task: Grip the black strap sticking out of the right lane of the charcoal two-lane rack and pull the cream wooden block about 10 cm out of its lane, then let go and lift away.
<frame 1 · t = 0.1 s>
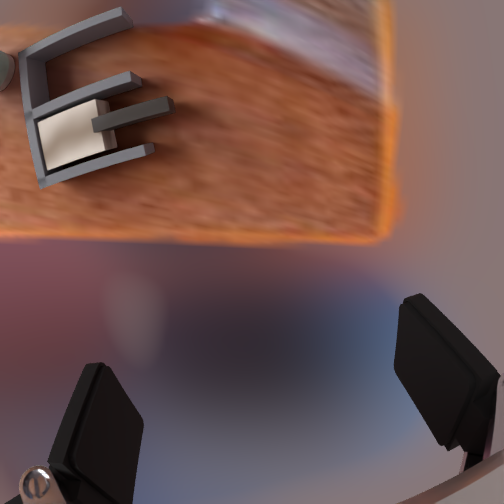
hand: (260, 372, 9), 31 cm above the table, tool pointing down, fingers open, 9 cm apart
cream block: (105, 124, 31), point 3 cm above the table, slide at 0.0 cm
lane rack: (89, 99, 32), on the table
coffee cup: (1, 73, 28), on the table
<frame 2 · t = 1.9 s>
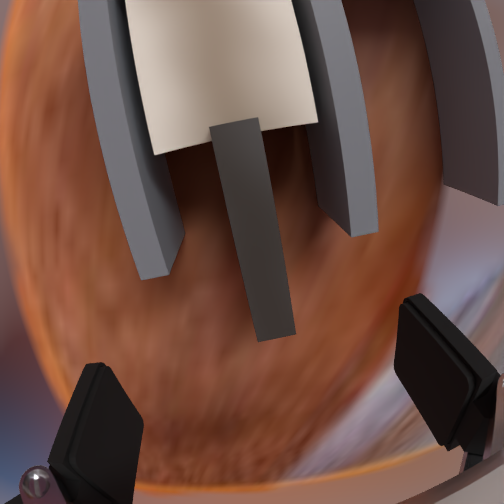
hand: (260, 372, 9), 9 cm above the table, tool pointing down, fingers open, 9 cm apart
cream block: (235, 135, 12), point 3 cm above the table, slide at 0.0 cm
lane rack: (307, 74, 14), on the table
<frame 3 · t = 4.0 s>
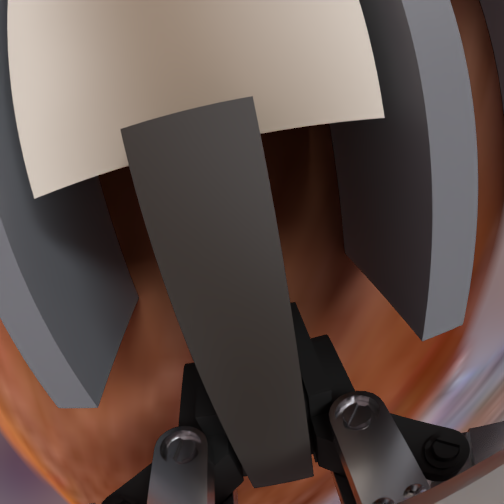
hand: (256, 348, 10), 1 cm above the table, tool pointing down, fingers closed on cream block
cream block: (204, 142, 6), point 3 cm above the table, slide at 0.0 cm, touching gripper
lane rack: (331, 40, 8), on the table
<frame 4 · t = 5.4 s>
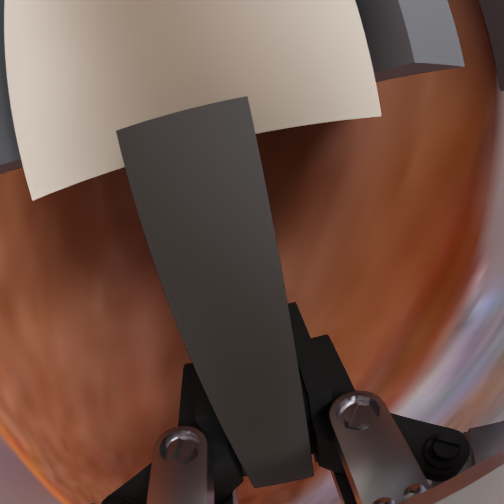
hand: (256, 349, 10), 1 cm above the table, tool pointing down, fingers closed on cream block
cream block: (201, 142, 6), point 3 cm above the table, slide at 5.4 cm, touching gripper
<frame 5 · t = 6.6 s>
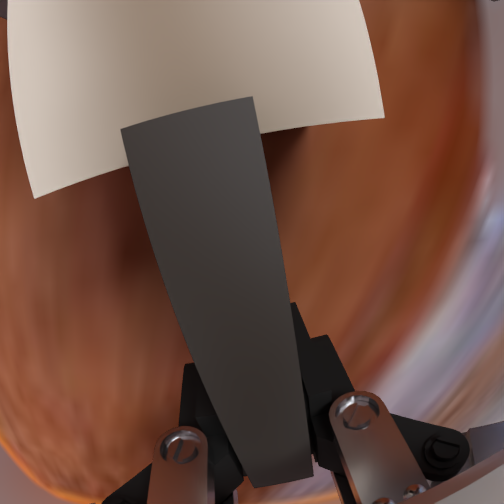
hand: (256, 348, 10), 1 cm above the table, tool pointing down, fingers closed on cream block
cream block: (204, 142, 6), point 3 cm above the table, slide at 10.0 cm, touching gripper
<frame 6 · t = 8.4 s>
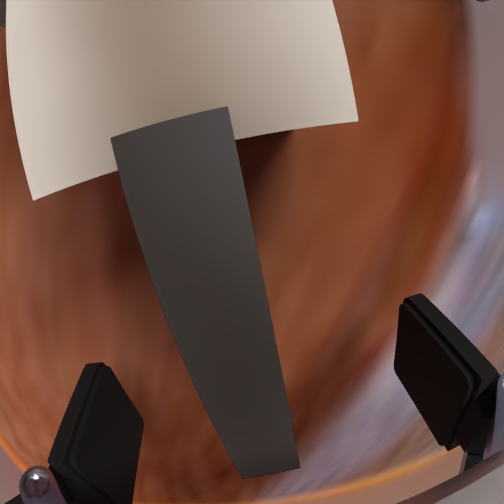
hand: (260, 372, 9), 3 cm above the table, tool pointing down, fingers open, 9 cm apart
cream block: (191, 146, 6), point 3 cm above the table, slide at 10.0 cm
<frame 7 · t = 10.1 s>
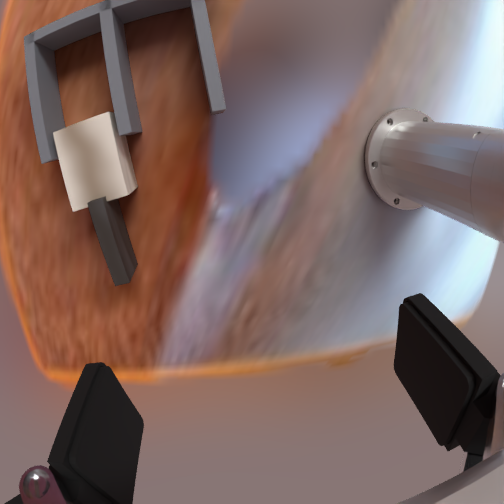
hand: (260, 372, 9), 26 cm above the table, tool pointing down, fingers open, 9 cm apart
cream block: (104, 199, 28), point 3 cm above the table, slide at 10.0 cm
lane rack: (125, 71, 26), on the table
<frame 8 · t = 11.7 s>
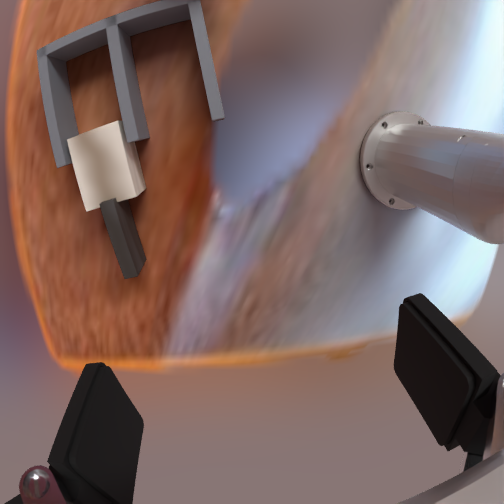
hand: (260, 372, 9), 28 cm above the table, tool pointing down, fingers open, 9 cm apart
cream block: (115, 200, 31), point 3 cm above the table, slide at 10.0 cm
lane rack: (132, 81, 29), on the table
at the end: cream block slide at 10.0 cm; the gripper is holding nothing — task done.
